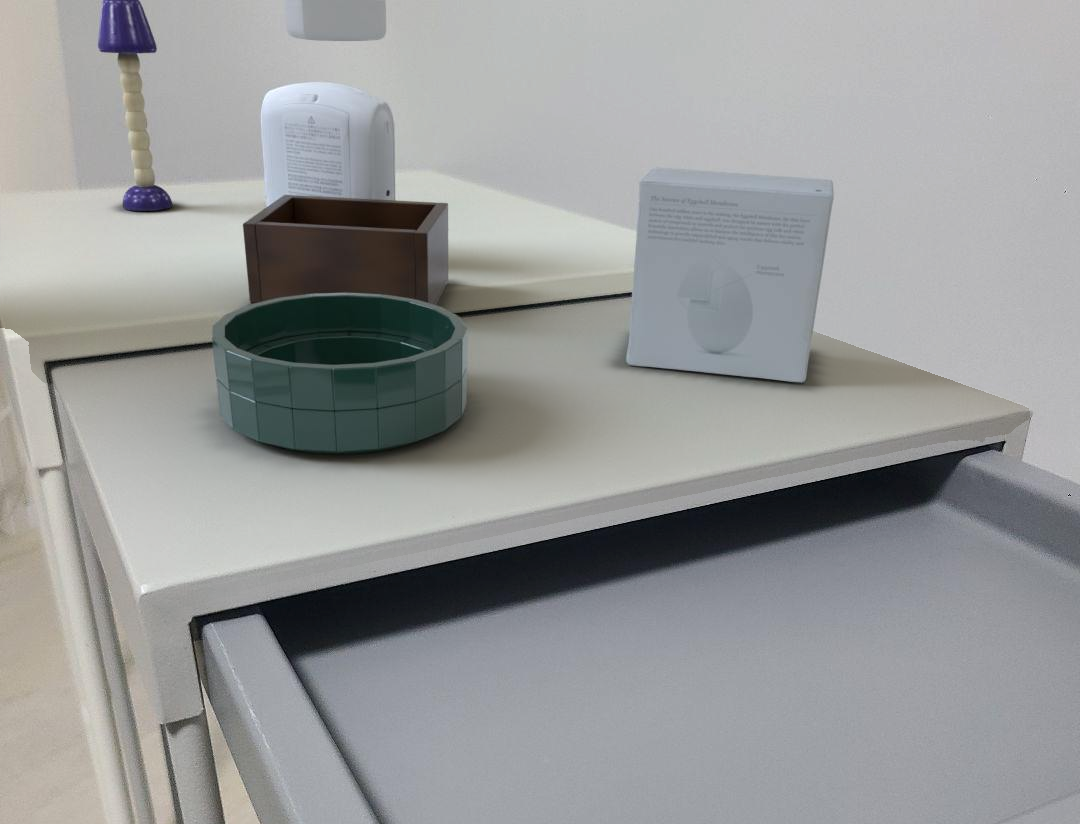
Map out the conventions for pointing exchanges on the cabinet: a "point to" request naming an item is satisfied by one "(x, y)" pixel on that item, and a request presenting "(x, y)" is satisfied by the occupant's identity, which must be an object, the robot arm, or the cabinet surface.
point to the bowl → (340, 371)
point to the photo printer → (327, 143)
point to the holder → (347, 248)
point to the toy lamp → (133, 94)
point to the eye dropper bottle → (336, 19)
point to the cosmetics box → (728, 272)
